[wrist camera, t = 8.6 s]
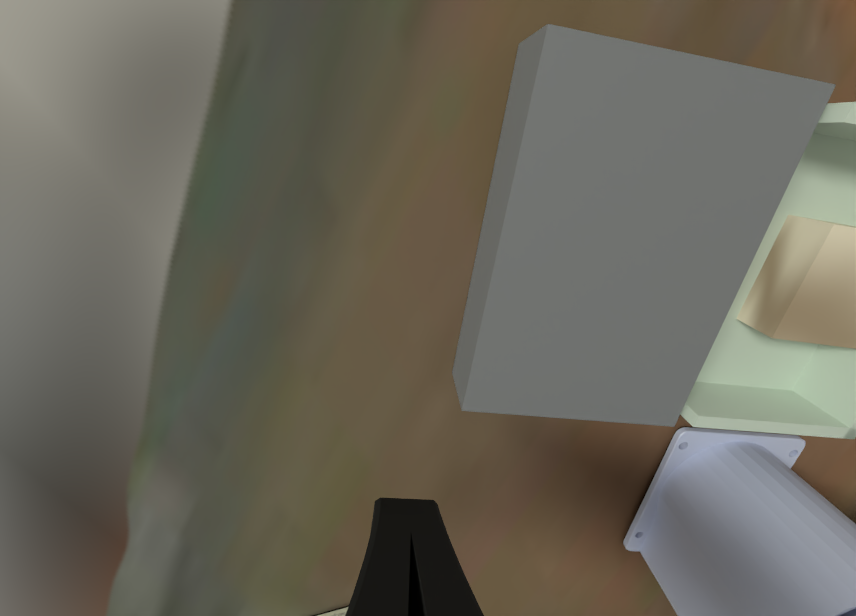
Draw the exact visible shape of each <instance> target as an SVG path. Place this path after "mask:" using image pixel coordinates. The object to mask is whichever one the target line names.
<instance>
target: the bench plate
mask: <svg viewBox="0 0 856 616" xmlns="http://www.w3.org/2000/svg"><path fill="white" fill-rule="evenodd" d="M834 88H835V84H830V83H826V82H821V81H816V80H811V79H807V78H802V77H797V76H792V75H788V74H783V73H778V72H773V71H769V70H764V69H759V68H755V67H750V66H745V65H740V64H736V63H731V62H726V61H721V60H717V59H712V58H707V57H702V56H698V55H693V54H688V53H684V52H679V51H674V50H669V49H665V48H660V47H655V46H650V45H646V44H641V43H636V42H632V41H627V40H622V39H617V38H613V37H608V36H603V35H598V34H594V33H589V32H584V31H579V30H575V29H570V28H565V27H561V26H556V25H551V24H547V25H545V26H544V27H543V28H541V29H540V30H538V31H537V32H535V33H534V34H532V35H531V36H530V37H528V38H527V39H525V40H524V41H522V42H521V43H520V44H519V46H518V51H517V56H516V61H515V66H514V71H513V76H512V81H511V86H510V91H509V95H508V100H507V105H506V110H505V115H504V120H503V125H502V130H501V135H500V140H499V145H498V150H497V155H496V159H495V164H494V169H493V174H492V179H491V184H490V189H489V194H488V199H487V204H486V209H485V214H484V219H483V224H482V228H481V233H480V238H479V243H478V248H477V253H476V258H475V263H474V268H473V273H472V278H471V283H470V288H469V292H468V297H467V302H466V307H465V312H464V317H463V322H462V327H461V332H460V337H459V342H458V347H457V352H456V356H455V361H454V366H453V371H452V374H453V378H454V382H455V386H456V390H457V394H458V398H459V402H460V406H461V410H462V411H473V412H486V413H499V414H513V415H526V416H539V417H552V418H566V419H579V420H592V421H606V422H619V423H632V424H645V425H659V426H672V427H674V426H675V424H676V422H677V420H678V418H679V415H680V413H681V411H682V409H683V407H684V405H685V403H686V401H687V399H688V396H689V394H690V392H691V390H692V388H693V386H694V384H695V382H696V379H697V377H698V375H699V373H700V371H701V369H702V367H703V365H704V363H705V360H706V358H707V356H708V354H709V352H710V350H711V348H712V346H713V344H714V341H715V339H716V337H717V335H718V333H719V331H720V329H721V327H722V324H723V322H724V320H725V318H726V316H727V314H728V312H729V310H730V308H731V305H732V303H733V301H734V299H735V297H736V295H737V293H738V291H739V288H740V286H741V284H742V282H743V280H744V278H745V276H746V274H747V272H748V269H749V267H750V265H751V263H752V261H753V259H754V257H755V255H756V253H757V250H758V248H759V246H760V244H761V242H762V240H763V238H764V236H765V233H766V231H767V229H768V227H769V225H770V223H771V221H772V219H773V217H774V214H775V212H776V210H777V208H778V206H779V204H780V202H781V200H782V198H783V195H784V193H785V191H786V189H787V187H788V185H789V183H790V181H791V178H792V176H793V174H794V172H795V170H796V168H797V166H798V164H799V162H800V159H801V157H802V155H803V153H804V151H805V149H806V147H807V145H808V143H809V140H810V138H811V136H812V134H813V132H814V130H815V128H816V126H817V123H818V121H819V119H820V117H821V115H822V113H823V111H824V109H825V107H826V104H827V102H828V100H829V98H830V96H831V94H832V92H833V90H834Z"/></svg>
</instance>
